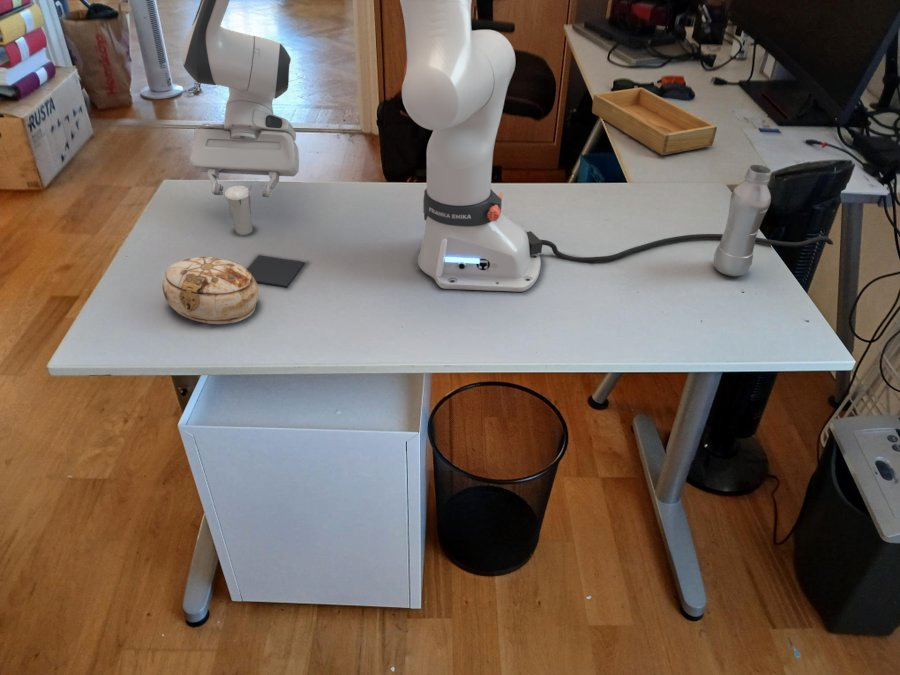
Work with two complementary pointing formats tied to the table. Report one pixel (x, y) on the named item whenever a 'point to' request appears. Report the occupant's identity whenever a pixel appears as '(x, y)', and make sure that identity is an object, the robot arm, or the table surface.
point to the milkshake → (240, 208)
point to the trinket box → (210, 290)
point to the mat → (274, 270)
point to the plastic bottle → (743, 222)
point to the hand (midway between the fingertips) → (241, 195)
